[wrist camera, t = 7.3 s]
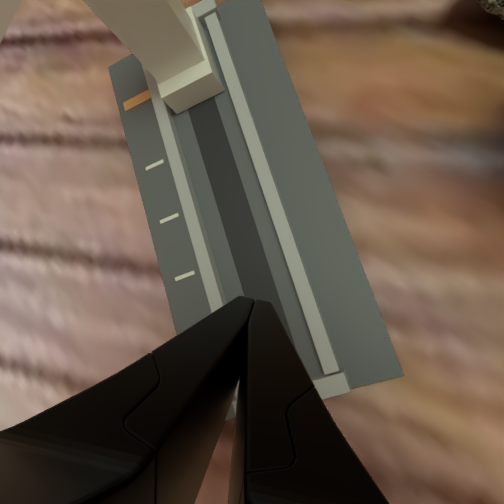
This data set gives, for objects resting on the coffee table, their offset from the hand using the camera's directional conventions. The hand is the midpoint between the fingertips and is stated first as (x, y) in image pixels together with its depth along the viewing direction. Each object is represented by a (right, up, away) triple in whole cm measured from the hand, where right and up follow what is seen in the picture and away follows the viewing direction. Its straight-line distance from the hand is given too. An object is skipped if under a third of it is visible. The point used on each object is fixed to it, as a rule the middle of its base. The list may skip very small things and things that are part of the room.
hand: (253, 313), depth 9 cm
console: (-1, +5, +14) cm, 15 cm away
